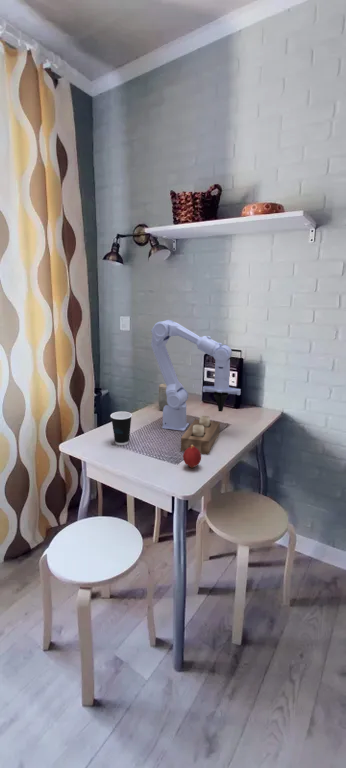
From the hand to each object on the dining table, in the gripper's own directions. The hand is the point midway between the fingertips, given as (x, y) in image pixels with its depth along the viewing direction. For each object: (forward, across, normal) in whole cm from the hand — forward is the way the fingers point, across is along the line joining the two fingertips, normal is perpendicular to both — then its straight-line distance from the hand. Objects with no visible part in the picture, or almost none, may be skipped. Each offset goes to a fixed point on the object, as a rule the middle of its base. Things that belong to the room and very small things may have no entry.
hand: (220, 410), depth 153 cm
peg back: (+6, -5, -6) cm, 10 cm away
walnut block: (+9, -5, -11) cm, 15 cm away
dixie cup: (+10, -33, -21) cm, 40 cm away
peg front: (+6, -5, -16) cm, 18 cm away
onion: (+10, -3, -32) cm, 34 cm away
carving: (+10, -30, +21) cm, 38 cm away
